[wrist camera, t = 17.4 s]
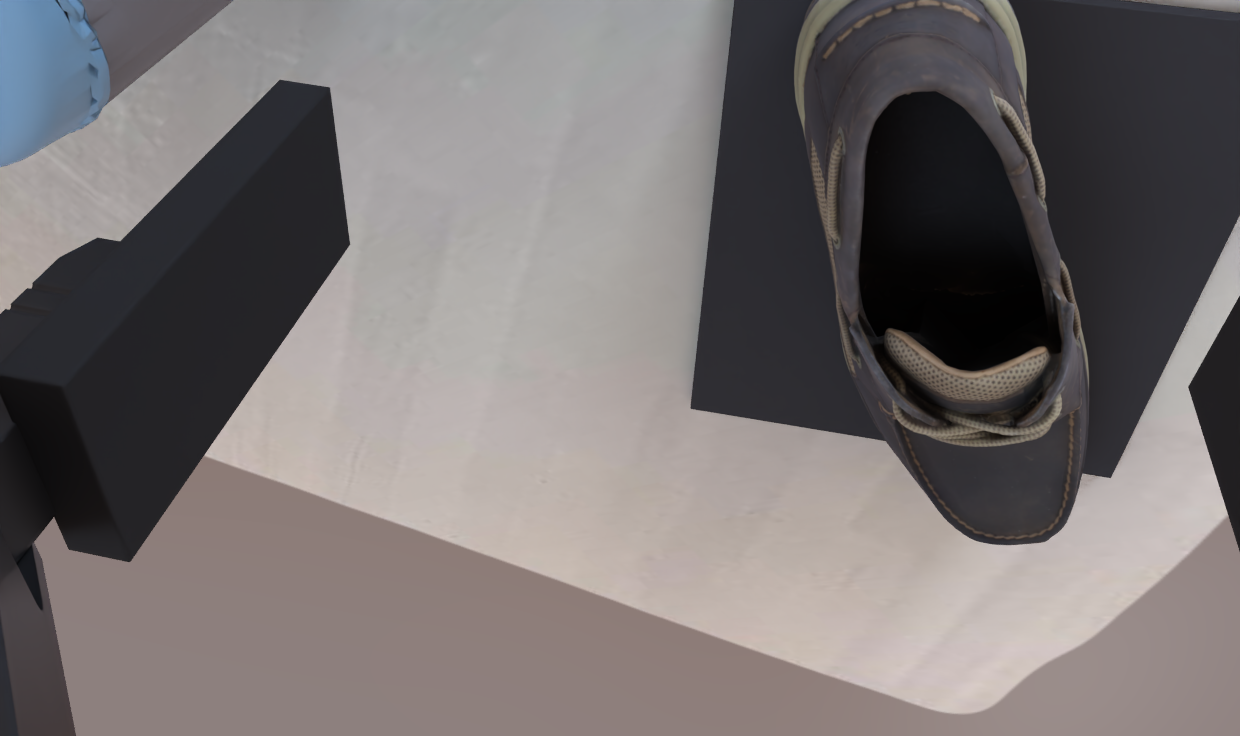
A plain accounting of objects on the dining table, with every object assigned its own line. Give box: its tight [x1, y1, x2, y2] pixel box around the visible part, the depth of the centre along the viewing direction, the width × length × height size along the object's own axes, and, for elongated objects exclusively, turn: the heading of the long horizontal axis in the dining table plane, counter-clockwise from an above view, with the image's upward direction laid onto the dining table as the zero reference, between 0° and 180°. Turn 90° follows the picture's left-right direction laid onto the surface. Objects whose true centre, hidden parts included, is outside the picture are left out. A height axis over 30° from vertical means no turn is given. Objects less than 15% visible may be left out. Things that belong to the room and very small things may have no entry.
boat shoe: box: [794, 0, 1089, 545], centre depth 44 cm, size 11×29×11 cm, turn 25°
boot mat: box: [691, 0, 1240, 478], centre depth 49 cm, size 22×24×1 cm
